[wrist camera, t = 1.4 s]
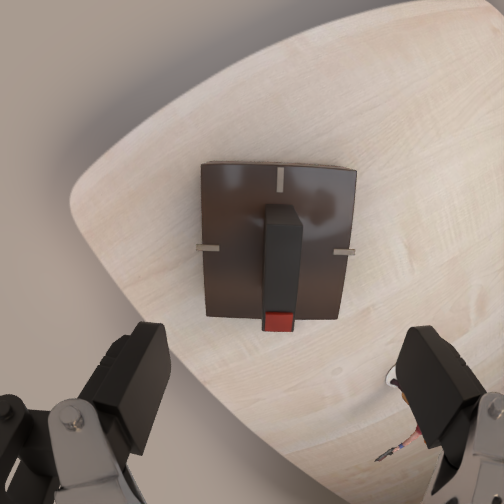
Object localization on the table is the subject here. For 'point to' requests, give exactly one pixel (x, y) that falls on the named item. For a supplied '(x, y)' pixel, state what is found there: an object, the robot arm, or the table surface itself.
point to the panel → (252, 233)
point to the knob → (281, 267)
